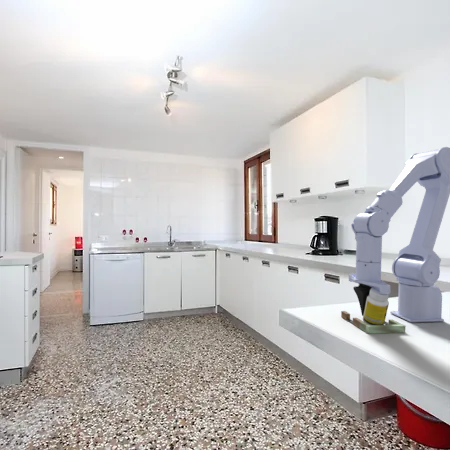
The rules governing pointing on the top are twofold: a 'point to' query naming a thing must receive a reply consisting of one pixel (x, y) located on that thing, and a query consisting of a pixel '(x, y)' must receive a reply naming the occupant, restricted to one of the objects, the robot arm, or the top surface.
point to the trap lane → (371, 329)
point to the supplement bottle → (376, 308)
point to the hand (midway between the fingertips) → (366, 315)
